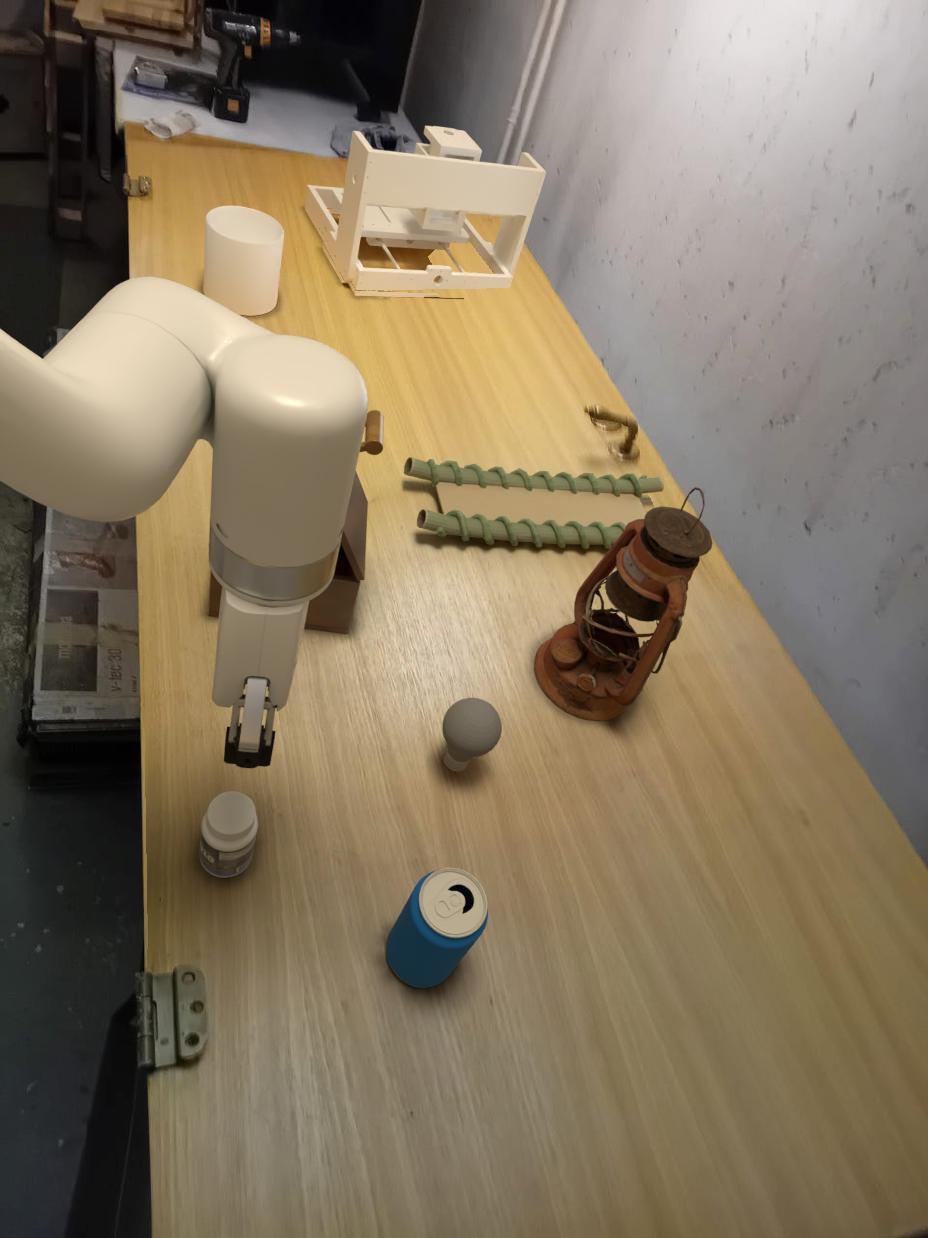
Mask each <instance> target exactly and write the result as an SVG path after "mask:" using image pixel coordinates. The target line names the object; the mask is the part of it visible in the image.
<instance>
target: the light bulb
mask: <svg viewBox="0 0 928 1238" xmlns="http://www.w3.org/2000/svg"><path fill="white" fill-rule="evenodd" d="M502 726H503V725H502V720H501V717H500V714H499V712H498V711H497V710H496V708H495V707H494V705H492V704H491V703H490V702H488V701H487V700H484V699H482V698H478V697H465V698H462V699H460V700H457V701H456V702H454V703H453V704H451V706H449V708H448V709H447V710H446V712H445V714H444V715H443V720H442V729H441V730H442V735H443V739H444V741H445V743H446V751H445V753H444V756H443V762H444V764H445V766H446V767H447V768H448V769H449V770H451V771H454V772H461V771H464V770H465V769H466V768H467V766H468V764H469V762H470V761H472V760H473V759H475V758H479V757H484V756H485V755H487V754H488V753H490V752H491V751H492V750H493V749H494V748H495V747H496V746H497V745H498V743H499V741H500V739H501V738H502V737H501V736H502V732H503V731H502V730H503V729H502V728H503V727H502Z"/></svg>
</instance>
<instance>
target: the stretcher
mask: <svg viewBox="0 0 928 1238" xmlns="http://www.w3.org/2000/svg"><path fill="white" fill-rule="evenodd" d="M403 473H404V475H405V476H409V477H412V478H417V479H421V480H424V481H428V482H430V483H431V486H432V487H434V488H435V492H436V494H437V498H438V502H439V505H440V508H441V512H442V513H440V512H436V511H433V510H430V509H426V508H423V509H420V511H419V512H418V514H417V517H416V526H417V528H419V529H422V530H426V531H430V532H431V531H432V532H435V533H437V535H438V536H439V537H440V538H445V537H446V536H447V535H449V536H460V537H461V540H462V541H463V542H467V541H469V540H470V538H479V539H480V538H481V539H484V541H485V543H486V544H487V545H489V546H490V545H493V544H494V543H495V540H499V541H508V542H509V543H510V545H511V546H513V547H517V546H518V545H519V542H521V543H534V545H535V547H536V548H539V549H540V548H542V547H543V544H551V545H552V544H554V545H558V547H559V548H560V549H563V548H566V545H581V547H582V548H583V549H584V550H588V549H590V545H597V546H598V545H599V546H601V545H603V546H604V548H605V549H607V550H609V549H610V548H611V547H612V546H613V544H614V543H615V542H616V540H617V539H618V538H619V537H620V535H621V534H622V533H623V531H624V530H625V528H626V526H627V524H628V523H629V522H632V521H634V520H637V519H645V515H646V513H647V511H646V509H645V507H644V505H643V503H642V501H641V499H640V497H642V494H652V493H661V492H662V493H663V491H664V484H665V483H664V480H663V478H662V477H661V476H654V477H648V475H647V474H642V475H641V476H639V477H638V476H637V474H635V473H629V472H628V473H624V474H623V475H621V476H619V477H618V478H616V477H615V476H614V474H604V475H601V476H599V477H598V478H596V475H595V474H594V473H593V472H583V473H581V474H580V475H578V476H577V477H573V476H572V474H570V473H568V472H566V471H560V472H558V473H556V474H555V475H553V476H552V475H551V473H550V472H549V470H548V471H547V470H539V471H537V472H535V473H533V474H532V475H529V474H528V472H527V471H525V470H524V469H522V468H520V467H519V468H516V469H515V470H513V471H511V472H508V473H507V472H506V470H505V469H504V467H502V466H493V467H491V468H489V469H488V470H483V469H482V467H481V466H480V465H478V464H476V463H470V464H466V465H465V466H464V467H460V466H459V463H458V461H455V460H448V459H447V460H446V461H444V462H442V463H440V464H437V463H436V462H435V460H434V459H433V458H429V459H428V460H427V461H425V460H422V459H418V458H415V457H412V456H408V458H407V459H406V461H405V463H404V466H403Z"/></svg>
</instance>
